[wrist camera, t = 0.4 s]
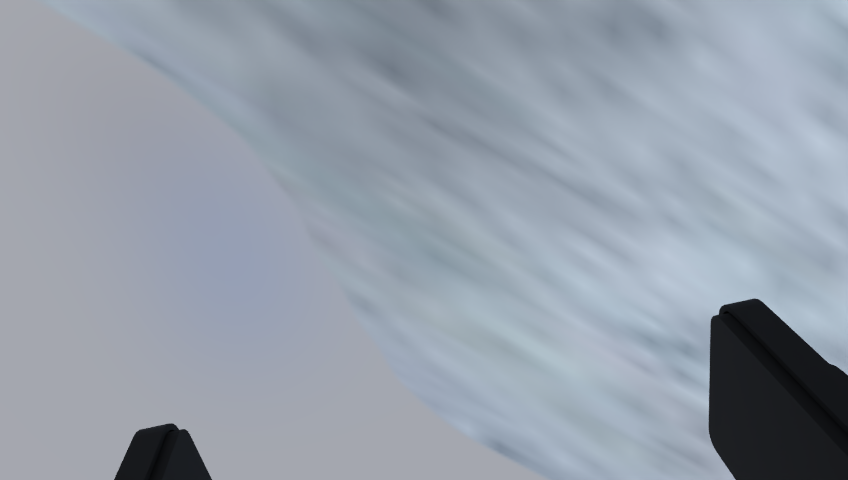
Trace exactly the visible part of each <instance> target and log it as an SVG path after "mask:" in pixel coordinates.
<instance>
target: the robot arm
mask: <svg viewBox="0 0 848 480" xmlns="http://www.w3.org/2000/svg"><path fill="white" fill-rule="evenodd" d="M709 434H710V438H711V441H712V444H713V446H714V448H715V450H716V451H717V453H718V454H719V456H720V457H721V459H722V460H723V462H724V463H725V465H726V466H727V467H728V469H729V470H730V472H731V473H732V475H733V476H734V478H735V479H736V480H848V375H847V374H845V373H844V372H843V371H842V370H840V369H839V368H838V367H836V366H834V365H831V364H829V363H828V362H827V361H826V360H824V359H823V358H822V357H821V356H820V355H819V354H818V353H817V352H816V351H815V350H814V349H813V348H812V347H810V346H809V345H808V344H807V343H806V342H805V341H804V340H803V339H802V338H801V337H800V336H799V335H797V334H796V333H795V332H794V331H793V330H792V329H791V328H790V327H789V326H788V325H787V324H786V323H785V322H783V321H782V320H781V319H780V318H779V317H778V316H777V315H776V314H775V313H774V312H773V311H772V310H771V309H769V308H768V307H767V306H766V305H765V304H764V303H763V302H762V301H760V300H759V299H750V300H746V301H741V302H736V303H732V304H727V305H724V306H722V307H721V308H720V310H719V315H716V316H713V317H712V319H711V337H710V389H709ZM114 480H212V479H211V477H210V475H209V473H208V471H207V469H206V467H205V465H204V463H203V461H202V459H201V457H200V455H199V453H198V450H197V448H196V446H195V444H194V442H193V440H192V438H191V436H190V434H189V433H188V431H187V430H185V429H182V430H179V429H178V428H177V426H176V425H174V424H165V425H161V426H156V427H151V428H146V429H142V430H139V431H138V432H136V434H135V435H134V437H133V439H132V441H131V444H130V446H129V448H128V450H127V452H126V455H125V457H124V459H123V461H122V463H121V466H120V468H119V470H118V472H117V475H116V477H115V479H114Z"/></svg>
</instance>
